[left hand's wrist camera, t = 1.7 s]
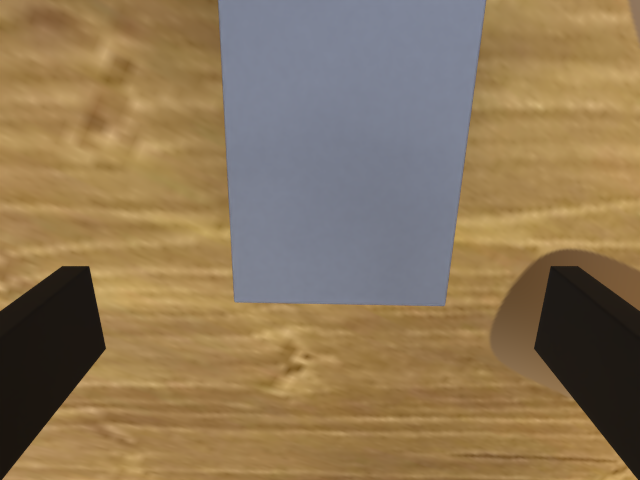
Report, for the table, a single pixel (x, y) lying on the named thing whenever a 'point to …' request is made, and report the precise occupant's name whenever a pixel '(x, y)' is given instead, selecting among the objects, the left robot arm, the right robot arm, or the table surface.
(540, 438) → the table surface
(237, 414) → the table surface
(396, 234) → the grey rectangular box
